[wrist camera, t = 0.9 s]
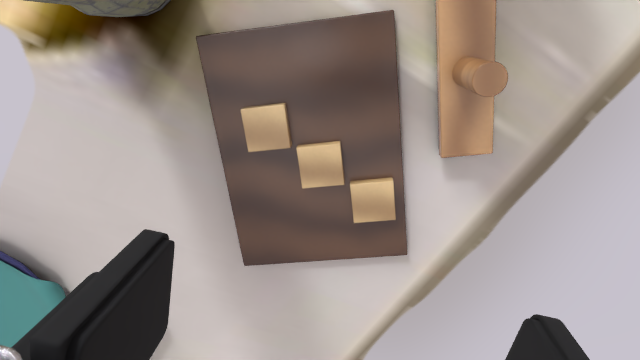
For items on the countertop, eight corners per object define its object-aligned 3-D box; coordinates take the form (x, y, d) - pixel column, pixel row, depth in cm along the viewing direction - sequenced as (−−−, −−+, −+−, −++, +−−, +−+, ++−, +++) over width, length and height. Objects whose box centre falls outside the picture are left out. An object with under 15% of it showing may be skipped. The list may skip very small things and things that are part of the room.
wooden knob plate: (436, 151, 38) (457, 180, 30) (432, -18, 33) (456, -33, 25) (485, 146, 37) (518, 175, 30) (487, -25, 32) (529, -43, 25)
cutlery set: (-81, 203, 44) (-104, 212, 42) (175, 311, 46) (167, 325, 44) (-95, 333, 50) (-115, 346, 48) (130, 421, 53) (121, 438, 51)
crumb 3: (349, 180, 38) (349, 184, 37) (392, 177, 38) (393, 180, 37) (353, 218, 40) (353, 223, 39) (394, 215, 39) (395, 220, 38)
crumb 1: (242, 107, 37) (240, 109, 36) (285, 102, 36) (284, 104, 35) (250, 149, 38) (248, 152, 37) (292, 145, 37) (290, 148, 36)
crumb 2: (297, 144, 37) (296, 147, 36) (340, 140, 37) (340, 143, 36) (303, 184, 39) (302, 188, 38) (344, 181, 38) (344, 185, 37)
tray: (199, 36, 36) (195, 36, 35) (392, 10, 34) (394, 9, 33) (246, 261, 43) (244, 266, 42) (406, 250, 41) (407, 255, 40)
